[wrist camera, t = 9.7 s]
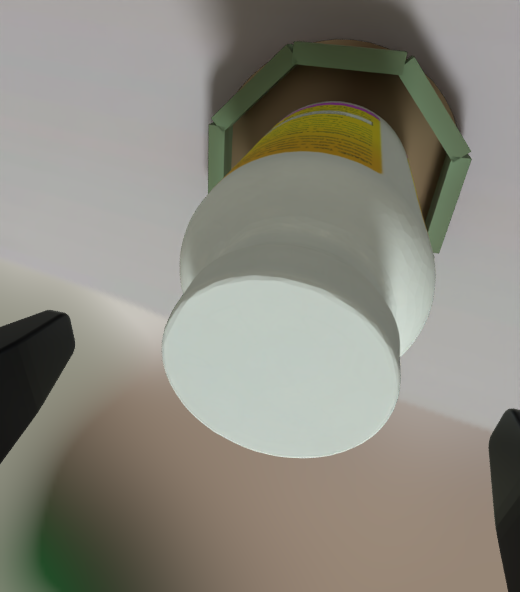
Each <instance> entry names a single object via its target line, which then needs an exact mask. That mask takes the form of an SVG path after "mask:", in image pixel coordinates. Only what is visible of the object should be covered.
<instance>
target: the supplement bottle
mask: <svg viewBox="0 0 520 592" xmlns="http://www.w3.org/2000/svg"><path fill="white" fill-rule="evenodd" d="M435 278H436V274H435V262H434V256H433V251H432V247H431V243H430V239H429V235H428V232H427V229H426V225H425V222H424V218H423V215H422V211H421V207H420V203H419V200H418V196H417V192H416V188H415V184H414V180H413V176H412V172H411V169H410V165H409V161H408V157H407V155H406V152H405V150H404V147H403V145H402V143H401V141H400V139H399V137H398V136H397V134H396V133H395V131H394V130H393V129H392V128H391V126H390V125H389V124H388V123H387V122H386V121H385V120H383V119H382V118H381V117H380V116H378V115H377V114H375V113H374V112H372V111H370V110H368V109H367V108H364V107H362V106H359V105H356V104H352V103H348V102H341V101H325V102H319V103H314V104H311V105H307V106H305V107H302V108H300V109H298V110H296V111H294V112H292V113H291V114H289V115H287V116H286V117H285V118H283V119H282V120H281V121H280V122H278V123H277V124H276V125H275V126H274V127H273V128H272V129H271V130H270V131H269V132H268V133H267V134H266V135H265V136H264V137H263V138H262V139H261V140H260V141H259V142H258V143H257V144H256V145H255V146H254V147H253V148H252V149H251V150H250V151H249V152H248V153H247V154H246V155H245V156H244V157H243V158H242V160H241V161H240V162H239V163H238V164H237V165H235V166H234V168H233V169H232V170H231V171H230V172H229V173H228V174H227V175H226V176H225V177H224V178H223V179H222V180H221V181H220V182H219V183H218V184H217V185H216V186H215V187H214V188H213V189H212V190H211V191H210V193H209V194H208V195H207V196H206V197H205V198H204V200H203V201H202V202H201V204H200V205H199V206H198V208H197V209H196V211H195V213H194V214H193V216H192V218H191V220H190V222H189V225H188V227H187V230H186V232H185V235H184V239H183V243H182V247H181V254H180V280H181V287H182V291H183V295H182V297H181V298H180V300H179V301H178V303H177V304H176V306H175V307H174V309H173V311H172V312H171V315H170V317H169V319H168V321H167V324H166V326H165V330H164V334H163V340H162V359H163V365H164V368H165V371H166V375H167V377H168V379H169V382H170V384H171V386H172V388H173V389H174V391H175V393H176V394H177V396H178V397H179V399H180V400H181V402H182V403H183V404H184V406H185V407H186V408H187V409H188V410H189V411H190V412H191V413H192V414H193V415H194V416H195V417H196V418H197V419H198V420H199V421H201V422H202V423H203V424H204V425H206V426H207V427H208V428H210V429H211V430H212V431H214V432H215V433H217V434H219V435H221V436H223V437H224V438H226V439H228V440H230V441H232V442H234V443H236V444H238V445H240V446H243V447H246V448H248V449H251V450H253V451H257V452H261V453H265V454H269V455H274V456H280V457H290V458H314V457H323V456H330V455H334V454H337V453H341V452H344V451H347V450H349V449H351V448H354V447H356V446H358V445H360V444H361V443H363V442H365V441H366V440H368V439H370V438H371V437H372V436H373V435H375V434H376V433H377V432H378V431H379V430H380V429H381V428H382V426H383V425H384V424H385V423H386V422H387V420H388V418H389V417H390V415H391V414H392V412H393V410H394V408H395V405H396V402H397V400H398V396H399V391H400V381H401V375H400V357H401V356H402V355H403V354H404V353H405V352H406V351H407V350H408V348H409V347H410V346H411V345H412V344H413V342H414V341H415V340H416V338H417V337H418V335H419V334H420V332H421V330H422V329H423V327H424V324H425V322H426V320H427V318H428V316H429V312H430V309H431V306H432V302H433V297H434V290H435Z"/></svg>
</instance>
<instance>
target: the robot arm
mask: <svg viewBox="0 0 520 592" xmlns="http://www.w3.org/2000/svg"><path fill="white" fill-rule="evenodd" d="M74 349H75V339H74V335H73V330H72V325H71V321H70V318H69V316H68V315H67V314H66V313H63V312H58V311H53V310H47V311H44V312H41V313H38V314H36V315H33V316H30V317H27V318H24V319H21V320H19V321H16V322H13V323H10V324H8V325H5V326H2V327H0V464H1V462H2V461H3V459H4V458H5V457H6V455H7V454H8V452H9V451H10V450H11V449H12V447H13V446H14V444H15V443H16V442H17V440H18V439H19V437H20V436H21V435H22V434H23V432H24V431H25V430H26V428H27V427H28V425H29V424H30V422H31V421H32V420H33V418H34V417H35V416H36V414H37V413H38V411H39V410H40V408H41V406H42V405H43V403H44V402H45V400H46V398H47V397H48V395H49V393H50V391H51V390H52V388H53V386H54V385H55V383H56V381H57V380H58V378H59V376H60V374H61V373H62V371H63V369H64V368H65V366H66V364H67V362H68V361H69V359H70V357H71V356H72V354H73V351H74ZM489 458H490V469H491V482H492V494H493V506H494V517H495V526H496V532H497V538H498V543H499V548H500V553H501V558H502V563H503V568H504V573H505V578H506V583H507V588H508V592H520V410H517V409H508V410H507V411H505V413H504V414H503V416H502V418H501V419H500V421H499V423H498V424H497V426H496V428H495V430H494V431H493V433H492V435H491V437H490V440H489Z"/></svg>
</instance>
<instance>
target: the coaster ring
mask: <svg viewBox="0 0 520 592" xmlns="http://www.w3.org/2000/svg"><path fill="white" fill-rule="evenodd" d="M406 57H407V52H406V51H396V50H390V49H388V48H385V47H382V46H379V45H376V44H373V43H369V42H363V41H357V40H336V39H334V40H327V41H319V42H313V43H312V42H302V41H296V42H294V45H292V44H287V45H285V46H284V47H283V48H282V49H281V50H280V51H279V52H278V53H277V54H276V55H275V56H274V57H273V58H272V59H271V60H270V61H269V62H268V63H266V64H265V65H264V66H262V67H261V68H260V69H259V70H258V71H257V72H255V73H254V74H253V75H252V76H251V77H250V78H249V79H248V80H247V81H246V82H245V84H244V85H243V86H242V87H241V88H240V89H239V91H238V92H237V93H236V94H235V95H234V96H233V97H232V98H231V99H230V100H229V101H228V102H227V103H226V104H225V105H224V106H223V107H222V108H221V109H220V110H219V111H218V112H217V113H216V114H215V115H214V116H213V117H212V118H211V119H212V120H213V121H214V122H213V123H211V124H209V144H208V194H209V193H210V191H211V190H212V189H213V188H214V187H215V186H216V185H217V184H218V183H219V182H220V181H221V180H222V179H223V178H224V177H225V176H226V175H227V174H228V173H229V172H230V171H231V170H232V169H233V168H234V166H235V165H237V164H238V163H239V162H240V161H241V160H242V158H243V157H244V156H245V155H246V154H247V153H248V152H249V151H250V150H251V149H252V148H253V147H254V146H255V145H256V144H257V143H258V142H259V141H260V140H261V139H262V138H263V137H264V136H265V135H266V134H267V133H268V132H269V131H270V130H271V129H272V128H273V127H274V126H275V125H276V124H277V123H278V122H280V121H281V120H282V119H283V118H285V117H286V116H287V115H289V114H291V113H292V112H294V111H296V110H298V109H300V108H302V107H305V106H307V105H311V104H314V103H319V102H325V101H341V102H348V103H352V104H356V105H359V106H362V107H364V108H367V109H368V110H370V111H372V112H374V113H375V114H377V115H378V116H380V117H381V118H382V119H383V120H385V121H386V122H387V123H388V124H389V125H390V126H391V128H392V129H393V130H394V131H395V133H396V134H397V136H398V137H399V139H400V141H401V143H402V145H403V147H404V150H405V152H406V155H407V157H408V161H409V165H410V169H411V172H412V176H413V180H414V184H415V188H416V192H417V196H418V200H419V203H420V207H421V211H422V215H423V218H424V222H425V225H426V229H427V232H428V235H429V239H430V243H431V247H432V251H433V253H439V252H440V249H441V246H442V243H443V240H444V237H445V234H446V232H447V229H448V226H449V223H450V220H451V217H452V214H453V211H454V209H455V206H456V203H457V200H458V197H459V194H460V191H461V188H462V185H463V183H464V180H465V177H466V174H467V171H468V168H469V165H470V162H471V160H472V159H471V157H470V156H469V155H468V153H469V152H471V150H470V149H469V147H468V145H467V144H466V142H465V140H464V139H463V137H462V135H461V134H460V132H459V130H458V129H457V126H456V123H455V120H454V117H453V114H452V112H451V110H450V108H449V106H448V104H447V102H446V100H445V98H444V96H443V95H442V94H441V92H440V91H439V89H438V88H437V86H436V85H435V84H434V82H433V81H432V80H431V79H430V78H429V77H428V76H427V75H426V74H425V73H424V72H423V71H422V69H421V67H420V66H419V64H418V62H417V61H416V59H415V57H414V56H411V57H409V58H408V59H406ZM433 256H434V255H433Z"/></svg>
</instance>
